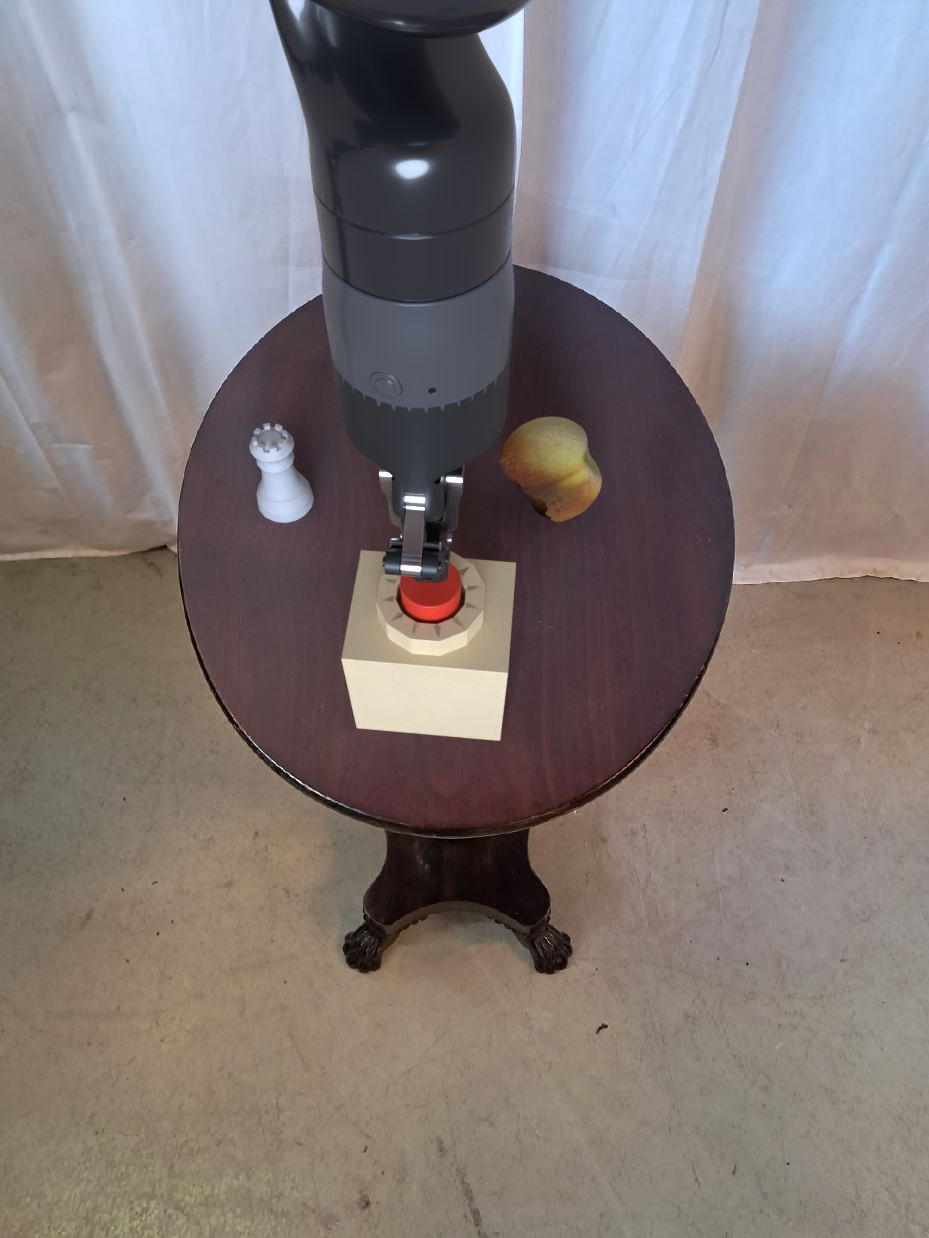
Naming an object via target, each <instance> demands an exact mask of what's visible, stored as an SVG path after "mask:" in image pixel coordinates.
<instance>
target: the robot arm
mask: <svg viewBox="0 0 929 1238" xmlns="http://www.w3.org/2000/svg"><path fill="white" fill-rule="evenodd" d="M533 1H534V0H268V3H269V6H270V11H271V14H272V17H273V21H274V24H275V27H276V30H277V34H278V37H279V41H280V44H281V47H282V50H283V53H284V57H285V60H286V63H287V66H288V69H289V72H290V75H291V78H292V81H293V84H294V87H295V91H296V94H297V97H298V101H299V104H300V108H301V110H302V116H303V118H304V124H305V127H306V134H307V144H308V159H309V167H310V168H309V169H310V178H311V184H312V189H313V190H312V192H313V196H314V197H313V198H314V204H315V210H316V217H317V223H318V224H317V225H318V232H319V239H320V247H321V256H322V258H321V260H322V267H321V269H322V270H321V275H322V276H321V295H322V304H323V305H322V306H323V314H324V319H325V320H324V321H325V326H326V330H327V331H326V332H327V339H328V344H329V353H330V359H331V365H332V373H333V378H334V379H333V380H334V385H335V386H334V387H335V391H336V398H337V404H338V405H337V406H338V411H339V417H340V422H341V426H342V428H343V430H344V433H345V435H346V437H347V438H348V440H349V441H350V443H351V444H352V445H353V447H355V449H356V450H357V451H358V452H359V453H361V454H362V455H363V456H365V457H366V458H367V459H369V460H370V461H372V462H373V463H374V464H376V465H378V466H379V468H378V469H379V470H378V479H379V480H378V481H379V485H380V491H381V492H382V493H383V494H385V496H386V500H387V508H388V516H389V522H390V524H391V525H392V526H395V527H397V528H399V529H400V537H399V538H396V537H391V538H390V539H389V547H388V548H386V550H385V552H386V555H385V556H383V561H382V566H383V567H384V570H385V574H386V575H398V576H410V577H411V578H413V579H414V580H415V581H417V582H429V583H440V582H443V581H446V580H447V579H448V572H449V564H450V551H451V544H453V533H451V531H455V530H457V528H458V522H459V513H460V500H461V499H462V497H463V494H464V493H463V492H464V483H465V472H466V471H465V470H466V469H465V468H466V467H465V466H466V465H468V464H470V463H472V462H473V461H476V460H477V459H478V458H480V457H481V456H482V455H483V454H485V453H486V452H487V451H488V450H489V449H490V448H491V447H492V446H493V445H494V443H495V442H496V441H497V439H498V437H499V436H500V435H501V433H502V431H503V429H504V426H505V423H506V419H507V412H508V398H509V386H510V385H509V384H510V371H511V356H512V343H513V327H514V315H515V314H514V313H515V274H514V267H513V255H512V254H513V253H512V237H513V236H512V235H513V219H514V205H515V203H514V202H515V189H516V188H515V187H516V176H517V160H518V137H517V136H518V135H517V134H518V133H517V124H516V114H515V108H514V105H513V100H512V98H511V94H510V92H509V89H508V87H507V85H506V83H505V81H504V79H503V78H502V76H501V74H500V72H499V70H498V69H497V67H496V66H495V64H494V62H493V61H492V58H491V57H490V56H489V53H488V52H487V49H486V48H485V46H484V44H483V42H482V39H481V37H480V34H479V33H482V32H485V31H487V30H490V29H492V28H495V27H496V26H499V25H502V24H503V23H504V22H506V21H508V20H509V19H511V18H512V17H515V16H516V15H518V14H519V13H520V12H522V11H523V10H524V9H525V8H527V7H528V6H529V5H530V4H531V3H532V2H533Z"/></svg>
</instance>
